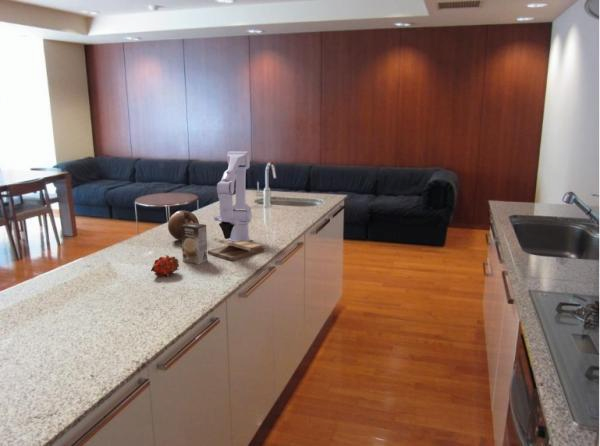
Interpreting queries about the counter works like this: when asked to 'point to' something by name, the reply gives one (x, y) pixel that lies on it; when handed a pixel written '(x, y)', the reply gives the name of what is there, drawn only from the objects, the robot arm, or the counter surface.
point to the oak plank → (232, 244)
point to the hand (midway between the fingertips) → (227, 238)
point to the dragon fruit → (165, 266)
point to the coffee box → (194, 243)
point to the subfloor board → (236, 250)
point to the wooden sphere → (180, 222)
